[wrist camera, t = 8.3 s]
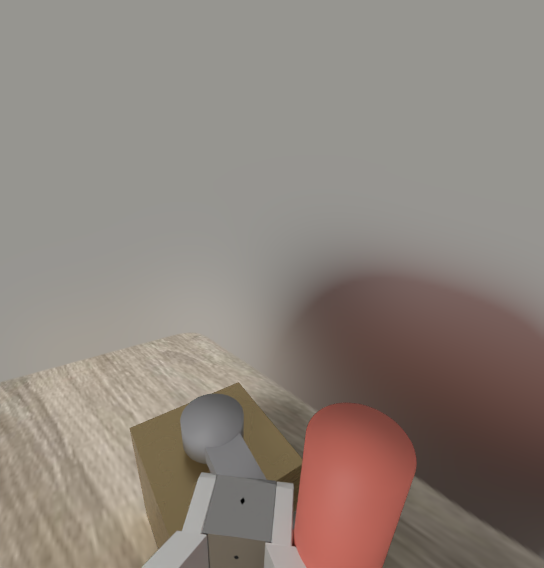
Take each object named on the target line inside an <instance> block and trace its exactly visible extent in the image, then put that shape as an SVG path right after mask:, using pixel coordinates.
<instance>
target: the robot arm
mask: <svg viewBox="0 0 544 568" xmlns="http://www.w3.org/2000/svg"><path fill="white" fill-rule="evenodd" d="M275 494H276V495H275ZM293 500H294V484H293V483H288V482H278V481H277V483H276V481H274V480H264V479H254V478H242V477H234V476H226V475H219V474H213V473H204V472H201V474H200V476H199V478H198V481H197V484H196V487H195V491H194V494H193V497H192V500H191V503H190V507H189V510H188V513H187V516H186V519H185V522H184V526H183V529H182V531H176V532H175V533H174V534H173V535H172V536H171V537H170V538H169V539H168V540H167V541H166V542H165V543H164V544H163V545H162V546H161V548H160V549H159V550H158V551H157V552H156V553H155V554H154V555H153V556H152V557H151V558H150V559H149V560H148V561H147V562H146V563H145V564H144V565H143V566H142V567H141V568H307V567H306V566H305V564H304V563H303V561H302V559H301V557H300V555H299V553H298V550H297V547H296V546H292V527H293Z"/></svg>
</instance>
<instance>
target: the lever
mask: <svg viewBox="0 0 544 568" xmlns="http://www.w3.org/2000/svg"><path fill="white" fill-rule="evenodd" d="M180 424H181V433H182V443H183V448H184V451H185V453H186V454H187V455H188V456H189V457H190V458H191V459H192V460H194V461H196V462H198V463H202V464H207V465H208V468H209V470H210V472H211V473H213V474H219V475H226V476H234V477H242V478H254V479H264V480H267V479H266V477H265V476H264V474H263V472H262V471H261V469H260V467H259V465H258V464H257V462H256V460H255V458H254V457H253V455H252V453H251V452H250V450H249V448H248V446H247V445H246V443H245V441H244V439H243V437H244V413H243V409H242V407H241V405H240V404H239V402H238V401H237V400H235V399H234V398H232V397H230V396H228V395H224V394H207V395H203V396H201V397H198V398H196V399H194V400H193V401H191V402H190V403H189V404H188V405H187V406H186V407H185V409H184V410H183V412H182V415H181V418H180ZM416 464H417V462H416V454H415V450H414V447H413V445H412V443H411V441H410V439H409V437H408V436H407V434H406V433H405V432H404V431H403V429H402V428H401V427H400V426H399V425H398V424H397V423H396V422H395V421H393V420H392V419H391V418H390V417H388V416H387V415H385V414H384V413H382V412H380V411H378V410H376V409H374V408H371V407H368V406H365V405H361V404H355V403H337V404H333V405H329V406H327V407H324V408H323V409H321V410H319V411H318V412H317V413H316V414H315V415H314V416H313V417H312V418H311V420H310V421H309V424H308V426H307V429H306V436H305V444H304V452H303V461H302V469H301V477H300V485H299V494H298V502H297V510H296V518H295V527H294V526H293V527H292V546H296V547H297V550H298V553H299V555H300V557H301V559H302V561H303V563H304V564H305V566H306V567H307V568H382V567H383V564H384V561H385V558H386V556H387V553H388V550H389V547H390V544H391V541H392V538H393V535H394V532H395V529H396V527H397V524H398V521H399V518H400V515H401V512H402V509H403V506H404V503H405V501H406V498H407V495H408V492H409V489H410V486H411V483H412V480H413V477H414V474H415V471H416Z"/></svg>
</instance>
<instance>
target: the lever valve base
mask: <svg viewBox="0 0 544 568" xmlns="http://www.w3.org/2000/svg"><path fill="white" fill-rule="evenodd" d="M212 394H224V395H228V396H230V397H232V398H234V399H235V400H237V401H238V402H239V404H240V405H241V407H242V409H243V413H244V437H243V439H244V441H245V443H246V445H247V446H248V448H249V450H250V452H251V453H252V455H253V457H254V458H255V460H256V462H257V464H258V465H259V467H260V469H261V471H262V472H263V474H264V476H265V477H266V479H267V480H274V481H276V483H277V481H278V482H288V483H293V484H294V500H293V526H294V527H295V518H296V510H297V502H298V494H299V485H300V477H301V469H302V461H303V459H302V458H301V457H300V456H299V454H298V453H297V452H296V451H295V450H294V448H293V447H292V446H291V445H290V444H289V442H288V441H287V440H286V439H285V438H284V436H283V435H282V434H281V433H280V432H279V430H278V429H277V428H276V427H275V426H274V424H273V423H272V422H271V421H270V419H269V418H268V417H267V416H266V415H265V413H264V412H263V411H262V410H261V409H260V407H259V406H258V405H257V404H256V403H255V401H254V400H253V399H252V398H251V397H250V395H249V394H248V393H247V392H246V391H245V389H244V388H243V387H242V386H241V385H240V383H239V382H238V383H236V384H233V385H231V386H229V387H226V388H224V389H222V390H219V391H217V392H214V393H212ZM188 404H189V403H188ZM188 404H186V405H184V406H181V407H179V408H176V409H174V410H172V411H169V412H167V413H165V414H162V415H160V416H157V417H155V418H153V419H150V420H148V421H146V422H143V423H141V424H138V425H136V426H134V427H131V428H130V432H131V437H132V442H133V447H134V452H135V458H136V463H137V468H138V473H139V478H140V483H141V488H142V493H143V498H144V503H145V508H146V513H147V516H148V519H149V522H150V525H151V528H152V531H153V534H154V537H155V541H156V544H157V547H158V550H159V549H160V548H161V546H162V545H163V544H164V543H165V542H166V541H167V540H168V539H169V538H170V537H171V536H172V535H173V534H174V533H175V532H176V531H182V529H183V526H184V522H185V519H186V516H187V513H188V510H189V507H190V503H191V500H192V497H193V494H194V491H195V487H196V484H197V481H198V478H199V476H200V474H201V472H204V473H211V472H210V470H209V468H208V465H207V464H202V463H198V462H196V461H194V460H192V459H191V458H190V457H189V456H188V455H187V454H186V453H185V451H184V448H183V443H182V433H181V424H180V418H181V415H182V412H183V410H184V409H185V407H186V406H187V405H188ZM275 495H276V494H275Z"/></svg>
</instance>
